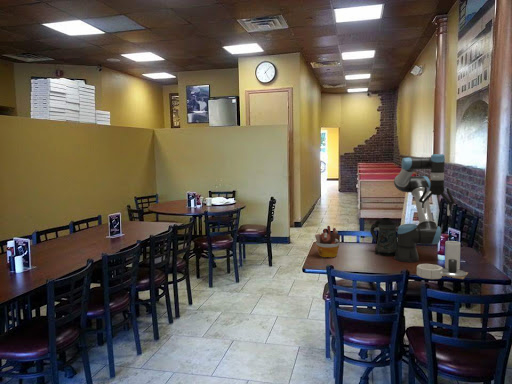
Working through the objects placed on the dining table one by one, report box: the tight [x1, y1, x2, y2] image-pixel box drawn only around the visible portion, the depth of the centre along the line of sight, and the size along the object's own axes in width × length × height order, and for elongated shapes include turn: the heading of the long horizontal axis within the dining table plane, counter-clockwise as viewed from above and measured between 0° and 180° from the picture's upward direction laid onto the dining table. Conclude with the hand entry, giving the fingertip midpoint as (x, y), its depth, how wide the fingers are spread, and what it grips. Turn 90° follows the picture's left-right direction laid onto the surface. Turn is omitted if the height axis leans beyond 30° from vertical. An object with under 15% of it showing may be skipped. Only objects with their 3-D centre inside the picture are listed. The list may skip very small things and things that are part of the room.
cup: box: [444, 240, 461, 270], centre depth 246 cm, size 8×8×16 cm
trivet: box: [443, 271, 469, 280], centre depth 235 cm, size 14×14×1 cm
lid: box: [443, 259, 467, 278], centre depth 234 cm, size 14×14×8 cm
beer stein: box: [369, 217, 398, 257], centre depth 283 cm, size 16×19×25 cm
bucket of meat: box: [314, 225, 341, 258], centre depth 280 cm, size 20×16×20 cm
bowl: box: [416, 263, 444, 280], centre depth 233 cm, size 13×13×5 cm
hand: (436, 214), depth 247 cm, fingers open, 13 cm apart
